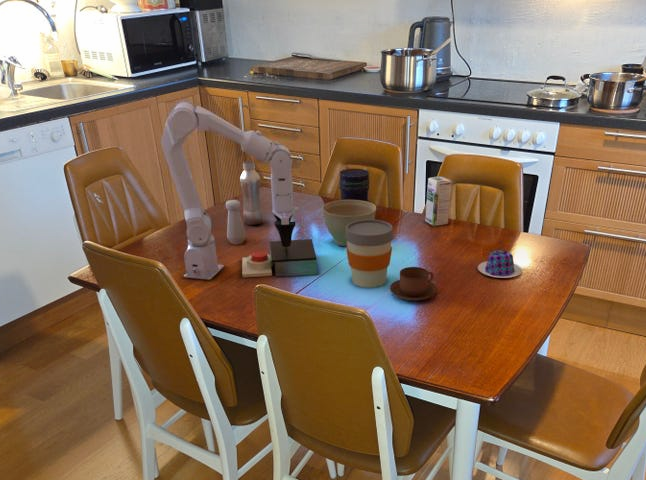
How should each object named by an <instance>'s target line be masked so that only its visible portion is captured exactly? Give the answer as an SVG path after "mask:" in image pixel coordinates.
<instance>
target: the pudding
mask: <svg viewBox="0 0 646 480" xmlns="http://www.w3.org/2000/svg"><path fill="white" fill-rule="evenodd" d="M477 270H478V272H480V273H482V274H483V275H485V276H489V277H492V278H501V279H502V278H503V279H508V278H513V277H514V278H515V277H517V276H519V275H521V274H522V272H523V269H522V267H521V266H519V265H518V264H516V263H515V262H514V255H513V254H512V253H511V252H510V251H507V250H503V249H501V250H498V249H497V250H494V251H492V252H490V254H489V256H488V260H487V261H483V262H481V263H479V264H478V265H477Z"/></svg>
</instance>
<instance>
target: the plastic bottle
mask: <svg viewBox="0 0 646 480" xmlns="http://www.w3.org/2000/svg"><path fill="white" fill-rule="evenodd" d="M242 169H243V171H242V173H241V175H240V177H239V182H240V187H241V190H242V197H243V212H242V213H243V214H242V215H243V216H242V218H243V221H244V222H245V224H247V225H248V226H249V225H250V226H252V225H253V226H256V225H259V224H261V223H262V222H263V220H264V213H263V209H262V204H261V195H260V194H261V193H260V191H261V189H260V187H261V177H260V175H259V173H258V172H257V171H256V170H255V169H256V166H255V161H253V160H246V161H243V162H242Z"/></svg>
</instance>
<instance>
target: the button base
mask: <svg viewBox="0 0 646 480" xmlns="http://www.w3.org/2000/svg"><path fill="white" fill-rule="evenodd" d="M267 258H268V260H267V261H264V262H253V261H252V256H251V254H250V255H248V256H246V257H241V260H242V261H241V265H242V266H241V268H242V269H241V271H242V272H241V273H242V274H241V275H242V278H256V277H269V276H271V277H272V276H273V273H272V272H273V271H272V266H274V262H272V259H271V254H268V253H267Z"/></svg>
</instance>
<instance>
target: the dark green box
mask: <svg viewBox="0 0 646 480" xmlns="http://www.w3.org/2000/svg"><path fill="white" fill-rule="evenodd" d="M273 265H274V272H275V273H274V274H275V278H282V277H283V278H284V277H297V276H313V275H318V259H317V260H303V261H287V262H273Z"/></svg>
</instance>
